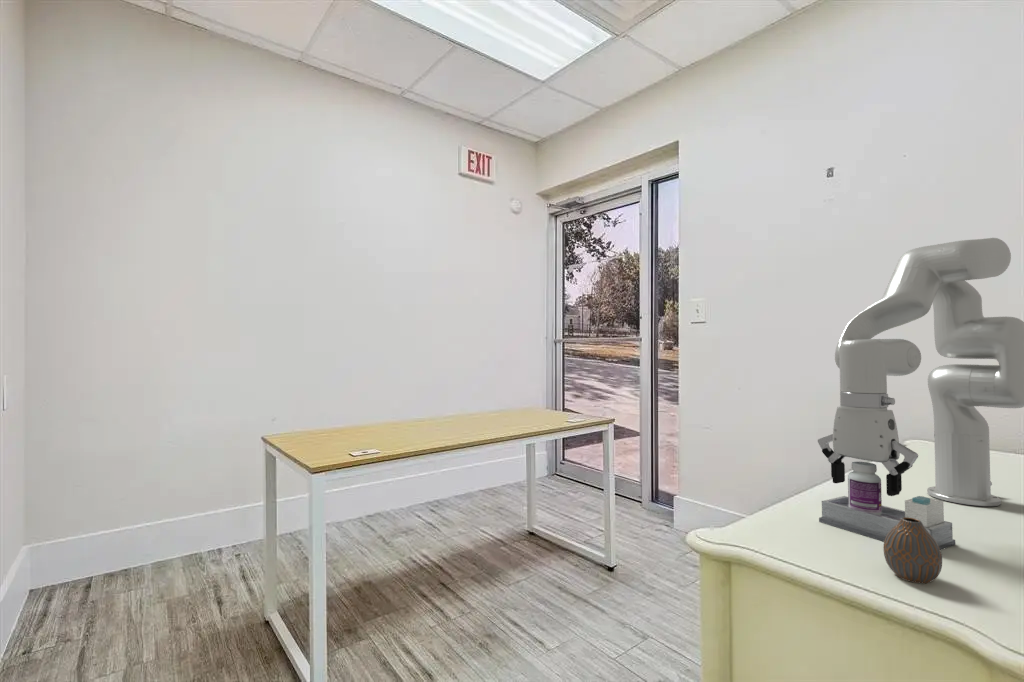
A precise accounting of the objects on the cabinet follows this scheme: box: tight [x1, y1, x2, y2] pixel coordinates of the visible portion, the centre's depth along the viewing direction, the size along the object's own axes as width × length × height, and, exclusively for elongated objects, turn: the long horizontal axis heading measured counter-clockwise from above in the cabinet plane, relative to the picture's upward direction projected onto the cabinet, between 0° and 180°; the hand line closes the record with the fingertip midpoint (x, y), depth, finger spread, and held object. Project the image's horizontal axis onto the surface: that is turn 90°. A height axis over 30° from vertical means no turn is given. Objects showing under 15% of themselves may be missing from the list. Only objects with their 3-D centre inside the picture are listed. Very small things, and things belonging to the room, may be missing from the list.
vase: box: [883, 517, 943, 584], centre depth 73 cm, size 7×7×9 cm
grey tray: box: [818, 495, 956, 551], centre depth 91 cm, size 10×18×8 cm, turn 27°
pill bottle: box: [847, 461, 883, 515], centre depth 94 cm, size 5×5×10 cm
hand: (864, 488), depth 94 cm, fingers open, 9 cm apart
